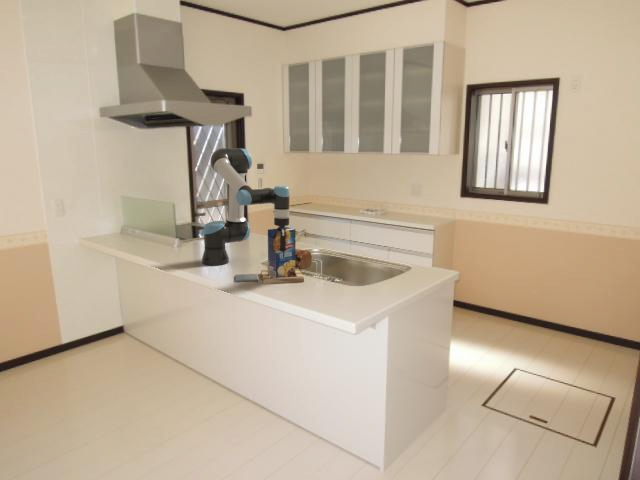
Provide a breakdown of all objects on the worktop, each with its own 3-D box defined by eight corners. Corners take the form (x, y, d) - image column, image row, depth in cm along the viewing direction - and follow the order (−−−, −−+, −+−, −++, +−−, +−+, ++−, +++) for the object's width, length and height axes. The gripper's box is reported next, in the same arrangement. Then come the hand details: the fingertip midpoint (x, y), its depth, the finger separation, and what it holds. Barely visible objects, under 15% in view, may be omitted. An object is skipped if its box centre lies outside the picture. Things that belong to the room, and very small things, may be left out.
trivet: (235, 276, 236) (235, 274, 236) (256, 275, 238) (256, 273, 238) (235, 282, 226) (235, 280, 225) (258, 281, 228) (258, 279, 228)
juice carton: (276, 279, 228) (276, 231, 223) (268, 275, 234) (267, 229, 229) (295, 274, 236) (295, 229, 231) (286, 271, 241) (286, 227, 236)
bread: (312, 267, 256) (312, 249, 254) (299, 271, 248) (299, 253, 246) (287, 261, 268) (287, 245, 266) (275, 265, 260) (274, 248, 258)
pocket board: (261, 273, 241) (261, 270, 241) (298, 272, 245) (298, 268, 245) (263, 283, 224) (263, 279, 224) (304, 281, 228) (304, 277, 228)
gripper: (272, 214, 236) (272, 258, 241) (276, 220, 219) (276, 267, 224) (286, 214, 237) (286, 257, 242) (291, 220, 221) (291, 266, 225)
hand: (281, 262), depth 233 cm, fingers open, 4 cm apart
